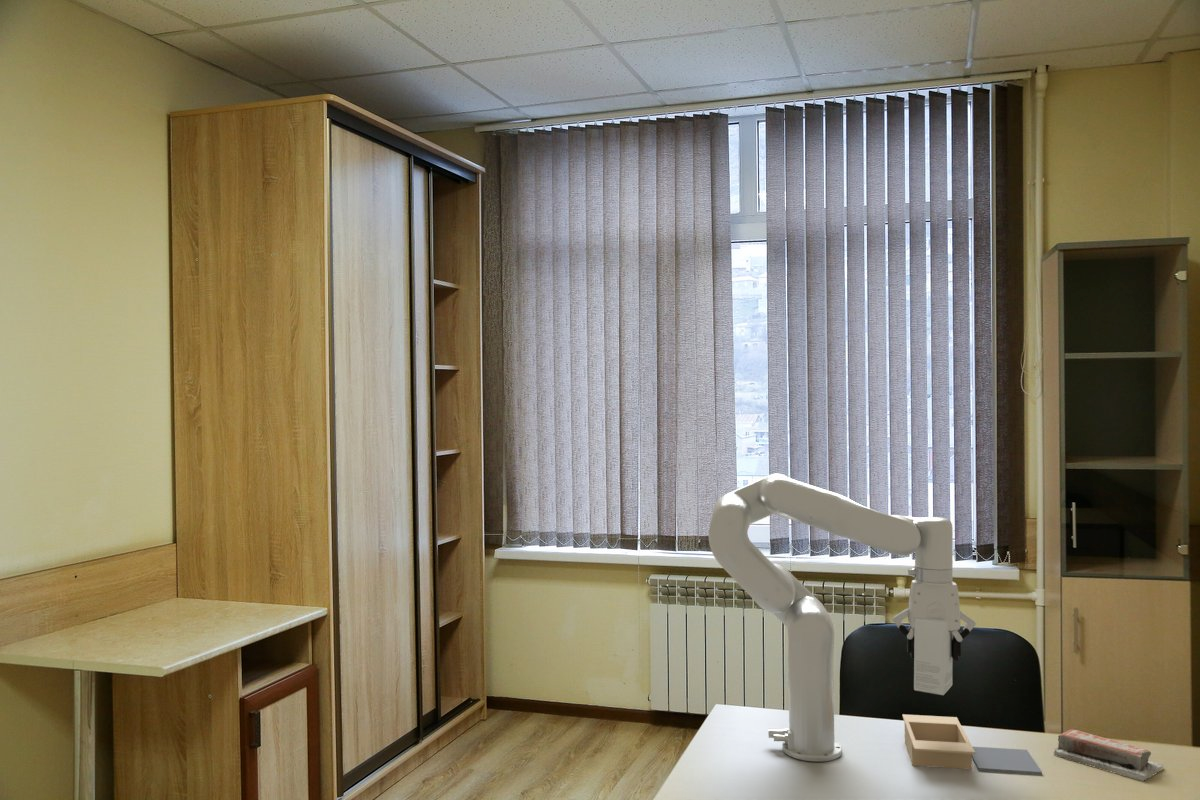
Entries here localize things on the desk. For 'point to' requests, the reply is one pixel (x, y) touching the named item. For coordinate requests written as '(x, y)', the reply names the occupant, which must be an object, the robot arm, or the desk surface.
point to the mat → (1005, 760)
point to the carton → (937, 742)
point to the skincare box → (932, 656)
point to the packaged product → (1106, 754)
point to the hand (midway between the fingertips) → (933, 657)
